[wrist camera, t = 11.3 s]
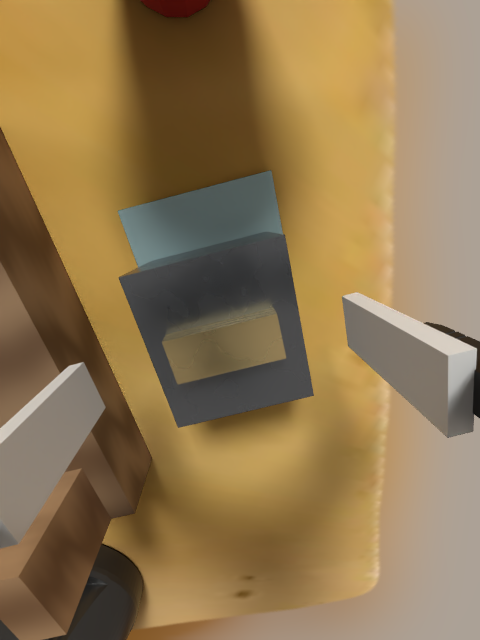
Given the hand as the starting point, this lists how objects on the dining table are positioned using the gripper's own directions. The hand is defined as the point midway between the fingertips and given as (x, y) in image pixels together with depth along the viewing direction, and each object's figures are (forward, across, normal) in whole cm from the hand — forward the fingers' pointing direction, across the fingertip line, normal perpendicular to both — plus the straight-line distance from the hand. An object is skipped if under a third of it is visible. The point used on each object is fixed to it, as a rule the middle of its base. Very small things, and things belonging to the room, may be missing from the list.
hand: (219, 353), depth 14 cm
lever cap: (+7, 0, 0) cm, 7 cm away
